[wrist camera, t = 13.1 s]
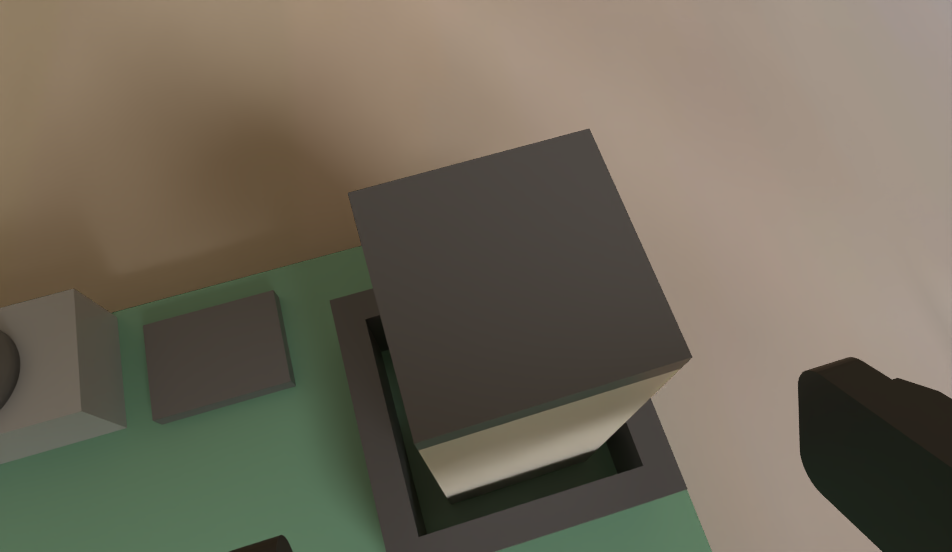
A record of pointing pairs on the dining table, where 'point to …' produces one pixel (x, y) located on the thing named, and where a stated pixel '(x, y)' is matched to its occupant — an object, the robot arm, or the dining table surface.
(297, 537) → the board
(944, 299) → the dining table surface
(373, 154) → the dining table surface
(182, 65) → the dining table surface
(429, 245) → the plug
